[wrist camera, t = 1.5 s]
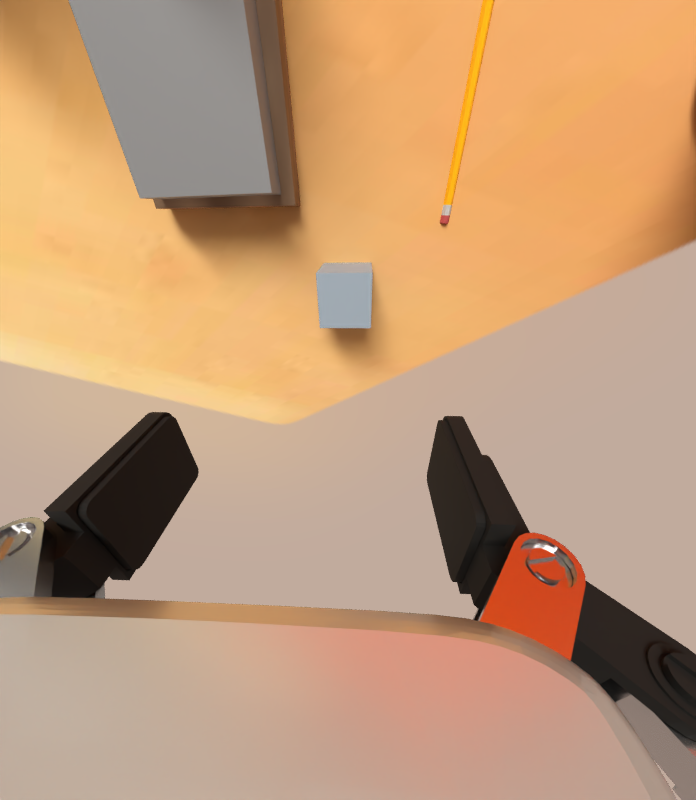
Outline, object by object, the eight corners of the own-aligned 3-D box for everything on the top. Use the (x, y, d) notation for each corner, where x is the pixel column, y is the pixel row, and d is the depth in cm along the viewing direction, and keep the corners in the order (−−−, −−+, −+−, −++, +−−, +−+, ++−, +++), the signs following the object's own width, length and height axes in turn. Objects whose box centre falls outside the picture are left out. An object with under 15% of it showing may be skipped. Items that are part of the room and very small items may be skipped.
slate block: (371, 262, 30) (372, 272, 25) (369, 310, 32) (370, 328, 27) (324, 262, 30) (316, 273, 25) (326, 310, 33) (319, 328, 28)
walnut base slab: (282, -11, 20) (270, -42, 18) (301, 206, 28) (295, 205, 25) (112, 0, 21) (78, -28, 19) (174, 208, 28) (156, 208, 26)
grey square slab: (254, -11, 19) (236, -45, 16) (281, 194, 25) (271, 192, 22) (97, 3, 19) (58, -28, 17) (162, 199, 25) (140, 198, 23)
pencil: (439, 223, 28) (440, 223, 27) (505, -124, 17) (510, -136, 17) (447, 223, 28) (449, 223, 27) (518, -124, 17) (523, -135, 17)
